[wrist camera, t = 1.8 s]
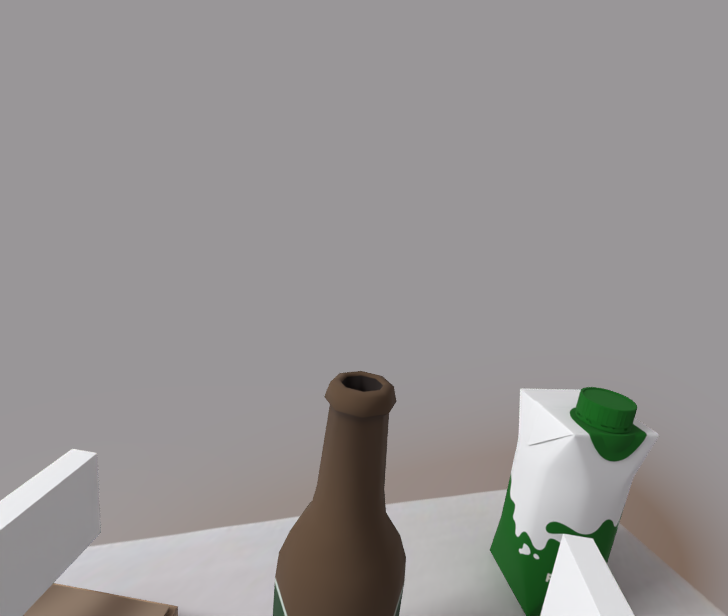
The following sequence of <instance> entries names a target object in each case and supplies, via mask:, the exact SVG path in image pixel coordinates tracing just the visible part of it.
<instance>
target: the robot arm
mask: <svg viewBox="0 0 728 616" xmlns="http://www.w3.org/2000/svg"><path fill="white" fill-rule="evenodd" d="M100 526H101V525H100V504H99V484H98V462H97V453H93V452H87V451H81V450H76V449H71V450H70V451H69V452H67V453H66V454H64V455H63V456H62V457H60V458H59V459H58V460H56V461H55V462H53V463H52V464H51V465H49V466H48V467H47V468H45V469H44V470H42V471H41V472H40V473H38V474H37V475H36V476H34V477H33V478H31V479H30V480H29V481H27V482H26V483H25V484H23V485H22V486H20V487H19V488H17V489H16V490H15V491H13V492H12V493H11V494H9V495H8V496H6V497H5V498H4V499H2V500H1V501H0V616H23V615H24V614H25V613H26V612H27V611H28V609H29V608H30V607H31V606H32V605H33V604H34V603H35V602H36V601H37V600H38V599H39V598H40V597H41V596H42V595H43V594H44V592H45V591H46V590H47V589H48V588H49V587H50V586H51V585H52V584H53V583H54V582H55V581H56V580H57V579H58V578H59V577H60V576H61V574H62V573H63V572H64V571H65V570H66V569H67V568H68V567H69V566H70V565H71V564H72V563H73V562H74V561H75V560H76V559H77V557H78V556H79V555H80V554H81V553H82V552H83V551H84V550H85V549H86V548H87V547H88V546H89V545H90V543H92V542H93V540H94V539H95V538H96V537H97V536H98V535H99V534H100V533H101V527H100ZM541 616H635V615H634V614H633V612H632V610H631V608H630V606H629V604H628V603H627V601H626V599H625V597H624V595H623V593H622V592H621V590H620V588H619V586H618V584H617V582H616V580H615V579H614V577H613V575H612V573H611V571H610V569H609V568H608V566H607V564H606V562H605V560H604V558H603V557H602V555H601V553H600V551H599V549H598V547H597V546H596V544H595V542H594V540H593V539H592V538H586V537H580V536H574V535H569V534H563V536H562V539H561V543H560V546H559V550H558V554H557V557H556V561H555V564H554V568H553V572H552V575H551V579H550V582H549V586H548V590H547V593H546V597H545V600H544V604H543V608H542V611H541Z"/></svg>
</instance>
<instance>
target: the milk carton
mask: <svg viewBox="0 0 728 616" xmlns="http://www.w3.org/2000/svg"><path fill="white" fill-rule="evenodd" d="M636 410H637V405H636V404H635V402H633V401H632V400H631V399H629V398H628V397H626V396H624V395H621V394H619V393H616V392H613V391H610V390H606V389H602V388H595V387H587V388H583V389H581V390H566V389H562V390H561V389H520V414H519V416H520V417H519V437H518V443H517V448H516V452H515V457H514V462H513V466H512V471H511V476H510V480H509V484H508V489H507V493H506V498H505V502H504V507H503V511H502V516H501V519H500V522H499V525H498V528H497V531H496V534H495V536H494V539H493V542H492V545H491V548H490V551H491V553H492V555H493V557H494V558H495V560H496V562H497V564H498V566H499V567H500V569H501V571H502V573H503V575H504V576H505V578H506V580H507V582H508V584H509V585H510V587H511V589H512V591H513V593H514V594H515V596H516V598H517V600H518V602H519V603H520V605H521V607H522V609H523V611H524V612H525V614H526V616H539V615H541V611H542V608H543V604H544V600H545V597H546V593H547V590H548V586H549V582H550V579H551V575H552V572H553V568H554V564H555V561H556V557H557V554H558V550H559V546H560V543H561V539H562V536H563V534H569V535H574V536H580V537H586V538H592V539H593V540H594V542H595V544H596V546H597V547H598V549H599V551H600V553H601V555H602V557H603V558H604V560H605V562H606V564H607V562H608V558H609V555H610V551H611V548H612V545H613V542H614V538H615V535H616V532H617V529H618V525H619V522H620V519H621V515H622V512H623V509H624V506H625V502H626V499H627V496H628V493H629V490H630V486H631V483H632V480H633V478H634V475H635V474H636V472H637V471H638V469H639V467H640V466H641V464H642V463H643V461H644V459H645V458H646V456H647V454H648V453H649V451H650V450H651V448H652V446H653V445H654V443H655V442H656V440H657V438H658V436H659V435H658V433H656V432H655V431H653V430H652V429H651V428H649V427H648V426H646V425H645V424H643V423H642V422H641V421H639V420H638V419H636V418H635V414H636Z"/></svg>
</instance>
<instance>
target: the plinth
mask: <svg viewBox="0 0 728 616" xmlns="http://www.w3.org/2000/svg"><path fill="white" fill-rule="evenodd" d="M23 616H178V606H173V605H167V604H162V603H157V602H151V601H146V600H141V599H135V598H130V597H125V596H119V595H114V594H109V593H103V592H98V591H93V590H87V589H82V588H77V587H71V586H66V585H61V584H55V583H53V584H52V585H51V586H50V587H49V588H48V589H47V590H46V591H45V592H44V594H43V595H42V596H41V597H40V598H39V599H38V600H37V601H36V602H35V603H34V604H33V605H32V606H31V607H30V608H29V609H28V611H27V612H26V613H25V614H24V615H23Z"/></svg>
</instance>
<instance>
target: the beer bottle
mask: <svg viewBox="0 0 728 616" xmlns="http://www.w3.org/2000/svg"><path fill="white" fill-rule="evenodd" d="M325 398H326V399H327V401H328V402H329V403H330V407H329V414H328V421H327V426H326V433H325V439H324V445H323V451H322V457H321V464H320V470H319V476H318V482H317V487H316V491H315V494H314V497H313V501H312V502H311V503H310V504H309V505H308V506H307V508H306V509H305V511H304V512H303V513H302V515H301V516H300V518H299V519H298V520H297V522H296V523H295V525H294V526H293V528H292V529H291V530H290V532H289V534H288V536H287V538H286V540H285V542H284V544H283V546H282V548H281V550H280V552H279V557H278V563H277V569H276V576H275V589H274V605H273V616H399V612H400V605H401V599H402V593H403V587H404V578H405V563H406V556H405V552H404V548H403V545H402V541H401V537H400V535H399V533H398V531H397V530H396V528H395V526H394V525H393V523H392V522H391V520H390V518H389V517H388V515H387V513H386V508H385V494H384V484H385V468H386V452H387V436H388V435H387V434H388V420H389V412H390V411H391V409H392V407H393V406H394V404H395V403H396V397H395V391H394V386H392V384H390V383H389V382H388V381H387V380H386V379H385V378H384V377H382V376H379V375H375V374H371V373H367V372H362V371H358V372H347V373H340V374H338V375H337V376H336V377H335V378H334V379H333V380H332V381H331V382H330V384H329V387H328V389H327V391H326V394H325Z"/></svg>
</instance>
